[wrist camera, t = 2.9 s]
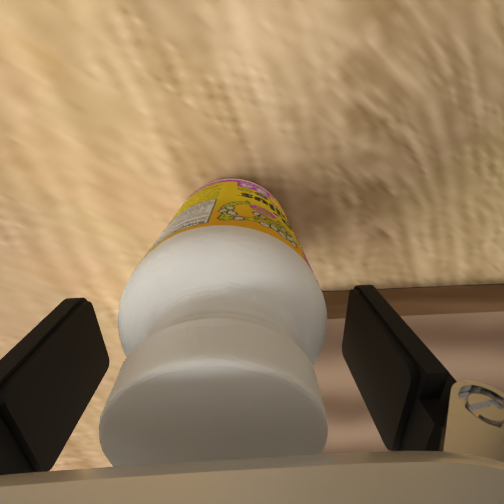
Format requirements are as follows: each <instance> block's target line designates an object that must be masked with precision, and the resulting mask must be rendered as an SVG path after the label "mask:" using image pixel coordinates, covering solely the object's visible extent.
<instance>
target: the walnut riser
mask: <svg viewBox="0 0 504 504" xmlns="http://www.w3.org/2000/svg"><path fill="white" fill-rule="evenodd" d="M376 290H377V291H378V292H379V293H380V294H381V295H382V296H383V297H384V299H385V300H386V301H387V302H388V303H389V304H390V305H391V307H392V308H393V309H394V310H395V311H396V312H397V313H398V315H399V316H400V317H401V318H402V319H403V320H404V321H405V322H406V324H407V325H408V326H409V327H410V328H411V329H412V330H413V332H414V333H415V334H416V335H417V336H418V337H419V338H420V339H421V341H422V342H423V343H424V344H425V345H426V346H427V347H428V349H429V350H430V351H431V352H432V353H433V354H434V355H435V356H436V358H437V359H438V360H439V361H440V362H441V363H442V364H443V366H444V367H445V368H446V369H447V370H448V371H449V372H450V374H451V375H452V376H453V378H454V379H455V380H456V381H457V382H458V381H462V380H471V381H478V382H481V383H484V384H487V385H489V386H491V387H493V388H496V389H498V390H499V391H501V392H502V393H504V284H493V285H469V286H446V287H422V288H398V289H376ZM349 292H350V291H327V292H322V293H323V296H324V300H325V304H326V310H327V331H326V337H325V342H324V345H323V347H322V350H321V352H320V355H319V357H318V359H317V361H316V362H315V364H314V366H313V368H314V371H315V374H316V378H317V382H318V385H319V389H320V393H321V396H322V400H323V404H324V407H325V411H326V415H327V422H328V436H327V441H326V444H325V447H324V449H323V451H322V453H321V454H337V453H359V452H386V451H389V450H388V449H387V448H386V447H385V445H384V443H383V441H382V439H381V436H380V434H379V432H378V430H377V428H376V426H375V424H374V421H373V419H372V417H371V415H370V413H369V411H368V409H367V406H366V404H365V402H364V400H363V398H362V396H361V394H360V391H359V389H358V387H357V385H356V383H355V381H354V379H353V376H352V374H351V372H350V370H349V368H348V366H347V364H346V361H345V359H344V357H343V354H342V341H343V333H344V326H345V319H346V311H347V304H348V297H349Z"/></svg>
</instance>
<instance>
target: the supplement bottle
mask: <svg viewBox="0 0 504 504" xmlns="http://www.w3.org/2000/svg"><path fill="white" fill-rule="evenodd" d="M118 329H119V336H120V340H121V344H122V347H123V350H124V353H125V355H126V357H127V358H126V359H125V361H124V362H123V365H122V367H121V369H120V372H119V375H118V377H117V380H116V382H115V384H114V387H113V389H112V391H111V393H110V395H109V397H108V400H107V402H106V404H105V407H104V409H103V412H102V415H101V417H100V424H99V439H100V443H101V447H102V450H103V452H104V454H105V455H106V457H107V458H108V460H109V461H110V463H111V464H112V465H113V467H120V466H135V465H151V464H167V463H183V462H199V461H215V460H232V459H248V458H266V457H283V456H301V455H319V454H321V453H322V451H323V449H324V447H325V444H326V441H327V436H328V422H327V415H326V411H325V407H324V404H323V400H322V396H321V393H320V389H319V385H318V382H317V378H316V374H315V371H314V368H313V366H314V364H315V362H316V361H317V359H318V357H319V355H320V352H321V350H322V347H323V345H324V342H325V337H326V331H327V310H326V304H325V300H324V296H323V293H322V290H321V288H320V286H319V283H318V281H317V279H316V277H315V275H314V273H313V271H312V269H311V267H310V265H309V263H308V261H307V259H306V257H305V254H304V252H303V250H302V248H301V246H300V244H299V242H298V240H297V238H296V236H295V234H294V231H293V229H292V227H291V225H290V223H289V221H288V219H287V217H286V215H285V213H284V211H283V209H282V207H281V206H280V204H279V203H278V201H277V200H276V199H275V198H274V196H273V195H272V194H271V193H269V192H268V191H267V190H266V189H264V188H263V187H261V186H259V185H257V184H255V183H253V182H250V181H247V180H242V179H234V178H230V179H221V180H216V181H213V182H211V183H208V184H206V185H204V186H203V187H201V188H200V189H198V190H197V191H196V192H195V193H193V194H192V195H191V196H190V197H189V198H188V199H187V201H186V202H185V203H184V204H183V206H182V207H181V208H180V210H179V211H178V213H177V214H176V215H175V216H174V218H173V219H172V221H171V222H170V223H169V225H168V226H167V227H166V229H165V230H164V231H163V233H162V234H161V236H160V237H159V238H158V239H157V241H156V242H155V243H154V245H153V246H152V247H151V249H150V250H149V251H148V253H147V254H146V255H145V257H144V258H143V259H142V260H141V262H140V263H139V265H138V266H137V268H136V269H135V271H134V272H133V274H132V275H131V277H130V279H129V281H128V282H127V284H126V287H125V289H124V291H123V294H122V297H121V300H120V305H119V313H118Z"/></svg>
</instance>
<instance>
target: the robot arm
mask: <svg viewBox="0 0 504 504" xmlns="http://www.w3.org/2000/svg"><path fill="white" fill-rule="evenodd" d="M342 354H343V357H344V359H345V361H346V364H347V366H348V368H349V370H350V372H351V374H352V376H353V379H354V381H355V383H356V385H357V387H358V389H359V391H360V394H361V396H362V398H363V400H364V402H365V404H366V406H367V409H368V411H369V413H370V415H371V417H372V419H373V421H374V424H375V426H376V428H377V430H378V432H379V434H380V436H381V439H382V441H383V443H384V445H385V447H386V448H387V449H388V450H389V451H386V452H359V453H337V454H319V455H301V456H283V457H266V458H248V459H232V460H215V461H199V462H183V463H167V464H151V465H135V466H120V467H106V468H91V469H76V470H62V471H49V470H50V469H51V468H52V467H53V465H54V464H55V462H56V460H57V458H58V457H59V455H60V453H61V451H62V450H63V448H64V446H65V444H66V442H67V441H68V439H69V437H70V435H71V434H72V432H73V430H74V428H75V426H76V425H77V423H78V421H79V419H80V417H81V416H82V414H83V412H84V410H85V409H86V407H87V405H88V403H89V401H90V400H91V398H92V396H93V394H94V393H95V391H96V389H97V387H98V385H99V384H100V382H101V380H102V378H103V377H104V375H105V373H106V371H107V369H108V367H109V356H108V353H107V350H106V347H105V343H104V340H103V337H102V334H101V331H100V327H99V324H98V321H97V318H96V315H95V311H94V308H93V305H92V303H91V302H88V301H87V300H86V299H85V298H68V299H65V300H63V301H62V302H61V303H60V304H59V305H58V306H57V307H56V308H55V309H54V310H53V311H52V312H51V313H50V314H49V315H47V316H46V317H45V318H44V319H43V320H42V321H41V322H40V323H39V324H38V325H37V326H36V327H35V328H34V329H33V330H32V331H31V332H29V333H28V334H27V335H26V336H25V337H24V338H23V339H22V340H21V341H20V342H19V343H18V344H17V345H16V346H15V347H14V348H12V349H11V350H10V351H9V352H8V353H7V354H6V355H5V356H4V357H3V358H2V359H1V360H0V504H504V393H502V392H501V391H499V390H498V389H496V388H493V387H491V386H489V385H487V384H484V383H481V382H478V381H471V380H462V381H458V382H457V381H456V380H455V379H454V378H453V376H452V375H451V374H450V372H449V371H448V370H447V369H446V368H445V367H444V366H443V364H442V363H441V362H440V361H439V360H438V359H437V358H436V356H435V355H434V354H433V353H432V352H431V351H430V350H429V349H428V347H427V346H426V345H425V344H424V343H423V342H422V341H421V339H420V338H419V337H418V336H417V335H416V334H415V333H414V332H413V330H412V329H411V328H410V327H409V326H408V325H407V324H406V322H405V321H404V320H403V319H402V318H401V317H400V316H399V315H398V313H397V312H396V311H395V310H394V309H393V308H392V307H391V305H390V304H389V303H388V302H387V301H386V300H385V299H384V297H383V296H382V295H381V294H380V293H379V292H378V291H377V290H376V288H375V287H374V286H373V285H359V286H355V287H354V290H350V292H349V297H348V304H347V311H346V319H345V326H344V333H343V341H342Z"/></svg>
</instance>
